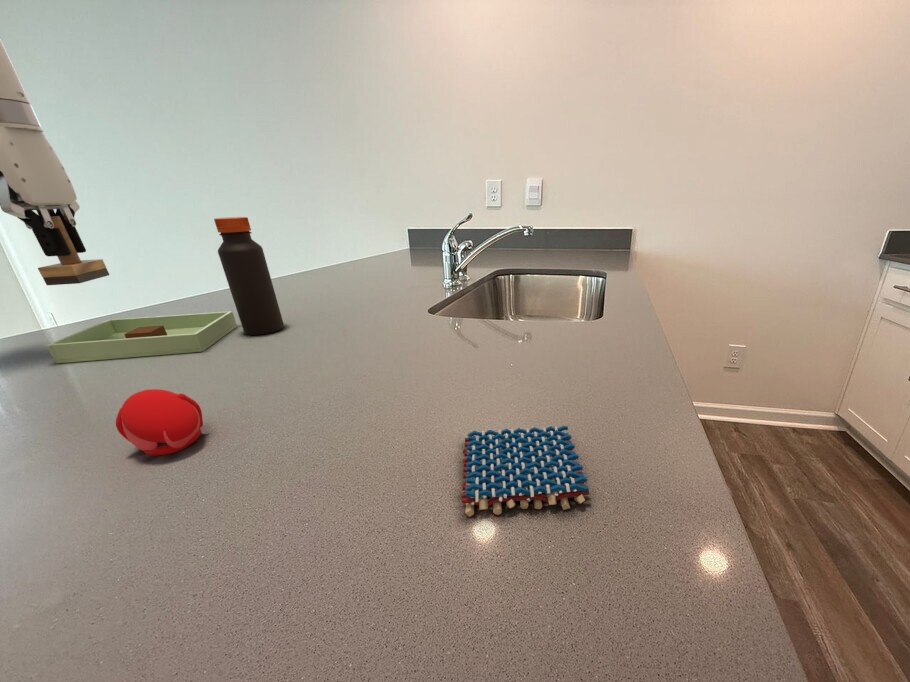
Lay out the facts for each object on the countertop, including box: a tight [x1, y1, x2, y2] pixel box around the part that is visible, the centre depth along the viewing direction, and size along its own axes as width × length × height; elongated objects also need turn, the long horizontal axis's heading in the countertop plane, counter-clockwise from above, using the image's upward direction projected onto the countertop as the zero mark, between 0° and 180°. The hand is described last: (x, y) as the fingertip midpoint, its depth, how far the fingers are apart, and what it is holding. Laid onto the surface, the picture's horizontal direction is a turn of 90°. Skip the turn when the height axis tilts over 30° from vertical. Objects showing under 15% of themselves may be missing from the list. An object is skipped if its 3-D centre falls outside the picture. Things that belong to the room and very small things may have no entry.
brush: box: [37, 216, 110, 286], centre depth 65 cm, size 7×4×10 cm, turn 11°
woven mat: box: [460, 424, 590, 518], centre depth 37 cm, size 10×11×2 cm
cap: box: [115, 388, 204, 456], centre depth 42 cm, size 8×6×6 cm
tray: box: [45, 310, 238, 364], centre depth 72 cm, size 21×14×3 cm
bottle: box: [213, 216, 285, 336], centre depth 74 cm, size 7×7×20 cm
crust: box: [124, 325, 167, 338], centre depth 72 cm, size 4×4×2 cm
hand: (66, 253), depth 65 cm, fingers closed on brush, 2 cm apart
